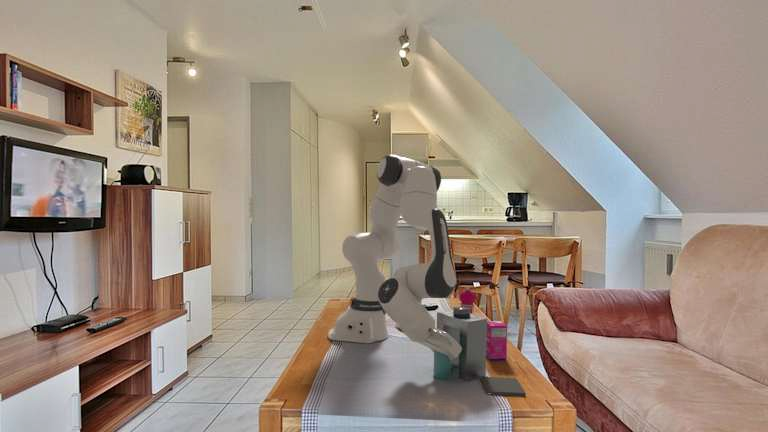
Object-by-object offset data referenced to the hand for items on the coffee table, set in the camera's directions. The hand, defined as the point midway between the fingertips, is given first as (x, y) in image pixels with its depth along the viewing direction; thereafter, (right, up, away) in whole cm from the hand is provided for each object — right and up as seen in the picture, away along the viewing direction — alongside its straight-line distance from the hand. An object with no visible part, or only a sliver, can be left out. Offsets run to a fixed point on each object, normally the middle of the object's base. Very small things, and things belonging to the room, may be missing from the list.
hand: (444, 354), depth 128 cm
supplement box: (+19, -7, +17) cm, 26 cm away
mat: (+15, -7, -7) cm, 18 cm away
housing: (+5, -6, +4) cm, 9 cm away
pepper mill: (+13, -6, +35) cm, 38 cm away
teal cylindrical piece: (-1, -6, 0) cm, 6 cm away
